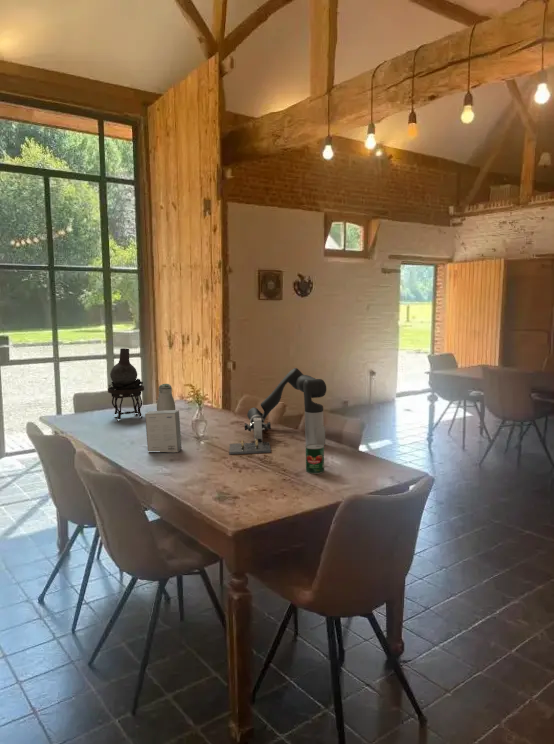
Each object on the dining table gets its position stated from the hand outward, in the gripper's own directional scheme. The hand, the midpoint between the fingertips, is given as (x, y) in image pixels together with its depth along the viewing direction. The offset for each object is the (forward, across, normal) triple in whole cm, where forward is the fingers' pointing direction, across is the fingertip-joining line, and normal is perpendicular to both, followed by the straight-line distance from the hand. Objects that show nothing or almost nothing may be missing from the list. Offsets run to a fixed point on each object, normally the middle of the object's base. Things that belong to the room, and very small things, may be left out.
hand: (257, 429), depth 295 cm
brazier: (-80, -82, +7) cm, 115 cm away
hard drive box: (+8, -47, +7) cm, 48 cm away
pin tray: (+12, -5, +7) cm, 15 cm away
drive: (-2, 0, +7) cm, 7 cm away
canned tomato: (+53, +23, +7) cm, 58 cm away
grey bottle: (-33, -51, +7) cm, 61 cm away
